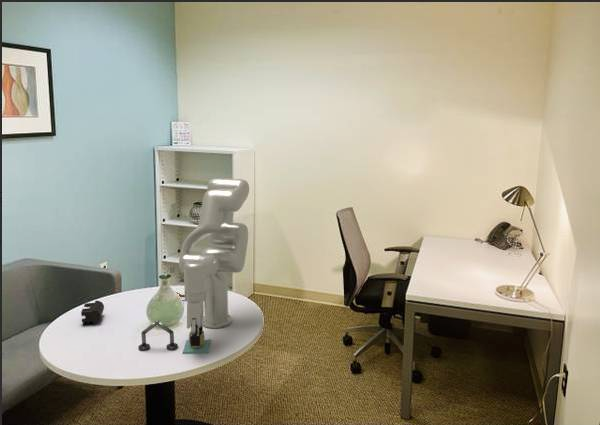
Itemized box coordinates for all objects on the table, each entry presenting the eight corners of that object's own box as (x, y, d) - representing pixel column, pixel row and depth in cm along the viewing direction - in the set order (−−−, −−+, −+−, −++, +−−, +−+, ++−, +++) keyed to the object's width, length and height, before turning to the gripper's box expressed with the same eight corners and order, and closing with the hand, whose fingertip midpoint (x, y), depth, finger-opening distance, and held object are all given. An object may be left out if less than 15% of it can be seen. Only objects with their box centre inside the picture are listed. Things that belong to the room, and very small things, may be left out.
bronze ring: (191, 342, 177) (190, 329, 176) (205, 341, 178) (204, 329, 176) (188, 349, 172) (188, 336, 171) (203, 348, 172) (203, 336, 171)
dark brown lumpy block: (101, 325, 191) (100, 309, 189) (82, 326, 189) (80, 311, 188) (104, 314, 200) (103, 299, 199) (86, 316, 199) (85, 301, 197)
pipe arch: (140, 345, 175) (138, 318, 173) (178, 344, 176) (177, 317, 174) (137, 351, 171) (135, 323, 169) (176, 350, 172) (175, 322, 170)
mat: (186, 341, 179) (186, 340, 179) (210, 341, 180) (210, 339, 179) (182, 353, 170) (182, 352, 170) (208, 353, 171) (208, 351, 171)
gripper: (188, 285, 178) (190, 329, 182) (180, 304, 162) (182, 352, 166) (208, 285, 179) (209, 329, 183) (203, 304, 162) (204, 352, 166)
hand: (196, 340), depth 174 cm, fingers open, 6 cm apart
